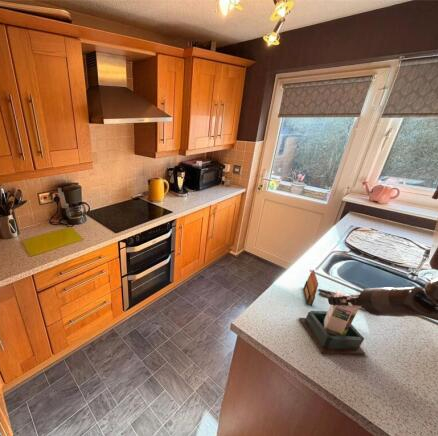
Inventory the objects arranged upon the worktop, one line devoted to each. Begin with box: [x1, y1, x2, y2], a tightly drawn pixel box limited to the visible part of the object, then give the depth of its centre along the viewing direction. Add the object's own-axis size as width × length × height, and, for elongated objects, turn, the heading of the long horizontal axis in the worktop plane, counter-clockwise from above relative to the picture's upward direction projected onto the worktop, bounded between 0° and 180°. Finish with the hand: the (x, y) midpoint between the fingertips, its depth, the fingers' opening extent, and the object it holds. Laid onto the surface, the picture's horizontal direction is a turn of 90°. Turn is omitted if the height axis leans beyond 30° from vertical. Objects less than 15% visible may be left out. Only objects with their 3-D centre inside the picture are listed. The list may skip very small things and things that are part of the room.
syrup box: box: [324, 290, 360, 336], centre depth 79 cm, size 6×6×14 cm
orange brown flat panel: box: [302, 269, 319, 307], centre depth 99 cm, size 11×2×12 cm, turn 155°
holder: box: [298, 310, 366, 356], centre depth 83 cm, size 14×14×6 cm
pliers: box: [317, 288, 368, 313], centre depth 99 cm, size 10×1×20 cm
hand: (341, 301), depth 79 cm, fingers closed on syrup box, 7 cm apart
